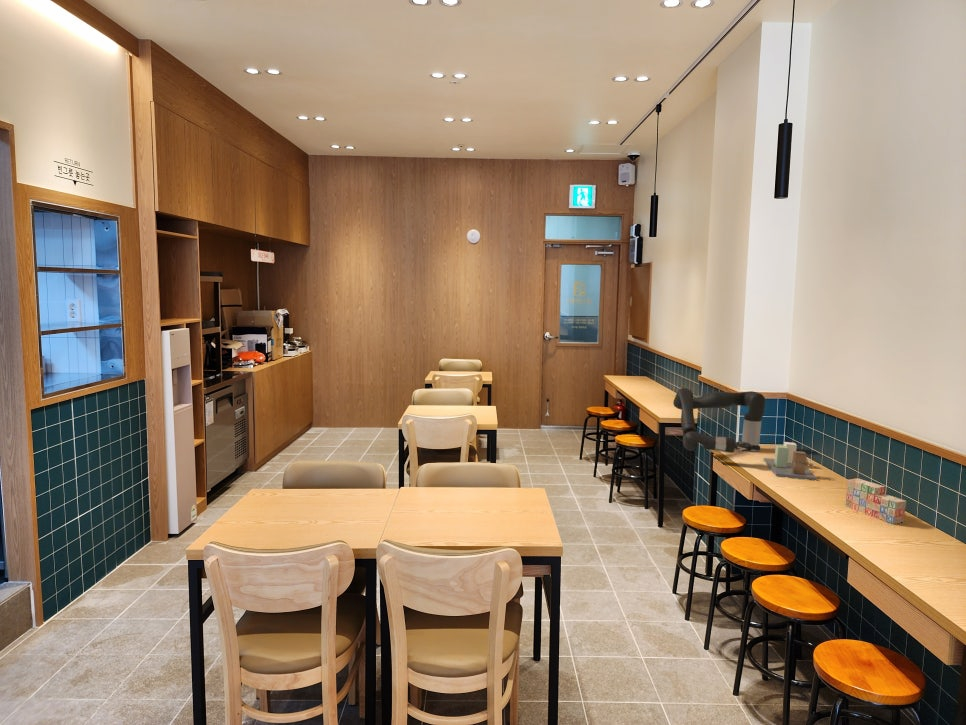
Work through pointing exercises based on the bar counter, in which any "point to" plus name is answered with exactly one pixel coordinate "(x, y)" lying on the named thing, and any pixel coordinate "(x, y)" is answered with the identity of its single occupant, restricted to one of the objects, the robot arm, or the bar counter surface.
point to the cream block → (790, 450)
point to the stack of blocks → (874, 501)
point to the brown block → (799, 462)
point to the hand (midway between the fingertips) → (759, 448)
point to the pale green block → (781, 456)
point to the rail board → (788, 471)
